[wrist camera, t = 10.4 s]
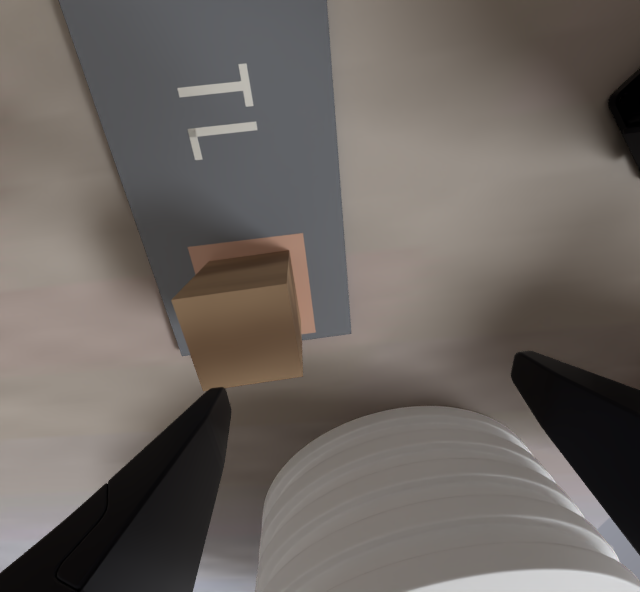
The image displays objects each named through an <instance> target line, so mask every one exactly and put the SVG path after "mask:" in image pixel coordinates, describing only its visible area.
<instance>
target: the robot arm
mask: <svg viewBox="0 0 640 592" xmlns="http://www.w3.org/2000/svg"><path fill="white" fill-rule="evenodd" d="M620 97H621V98H622V99H621V102H620ZM608 105H609V108H610V110H611V113H612V115H613V117H614V119H615V121H616V123H617V125H618V127H619V129H620V131H621V133H622V135H623V137H624V139H625V141H626V143H627V145H628V147H629V149H630V151H631V153H632V155H633V157H634V159H635V161H636V163H637V165H638V167H639V169H640V69H639V70H638V71H637V72H636V73H635V74H634V75H632V76H631V77H630V78H629V79H628V80H627V81H626V82H625V83H624V84H623V85H622V86H620V87H619V88H618V89H617V90H616V91H615V92H614V93H613V94H612V95H611V97H610V99H609V102H608ZM511 378H512V381H513V383H514V384H515V386H516V387H517V389H518V391H519V392H520V394H521V395H522V397H523V399H524V400H525V402H526V403H527V405H528V407H529V408H530V410H531V411H532V413H533V415H534V416H535V418H536V419H537V421H538V422H539V424H540V425H541V427H542V428H543V429H544V431H545V432H546V434H547V435H548V436H549V438H550V439H551V440H552V441H553V443H554V444H555V445H556V447H557V448H558V449H559V451H560V452H561V453H562V455H563V456H564V457H565V458H566V460H567V461H568V462H569V464H570V465H571V466H572V468H573V469H574V470H575V472H576V473H577V474H578V475H579V477H580V478H581V479H582V481H583V482H584V483H585V485H586V486H587V487H588V489H589V490H590V491H591V492H592V494H593V495H594V496H595V498H596V499H597V500H598V502H599V503H600V504H601V506H602V507H603V508H604V509H605V511H606V512H607V513H608V515H609V516H610V517H611V519H612V520H613V521H614V523H615V524H616V525H617V526H618V528H619V529H620V530H621V532H622V533H623V534H624V536H625V537H626V538H627V540H628V541H629V542H630V543H631V545H632V546H633V547H634V549H635V550H636V551H637V553H638V554H639V555H640V390H638V389H635V388H632V387H630V386H627V385H624V384H621V383H619V382H616V381H613V380H610V379H608V378H605V377H602V376H599V375H597V374H594V373H591V372H588V371H586V370H583V369H580V368H577V367H575V366H572V365H569V364H566V363H564V362H561V361H558V360H555V359H553V358H550V357H547V356H544V355H541V354H539V353H536V352H533V351H523V352H518V353H516V354H515V356H514V361H513V366H512V371H511ZM230 419H231V406H230V403H229V399H228V396H227V392H226V390H225V388H224V387H216V388H210V389H209V390H208V391H207V392H206V393H204V394H203V395H202V396H201V397H200V398H199V399H198V400H197V401H196V402H195V403H193V404H192V405H191V406H190V407H189V408H188V409H187V410H186V411H185V412H184V413H182V414H181V415H180V416H179V417H178V418H177V419H176V420H175V421H174V422H173V423H171V424H170V425H169V426H168V427H167V428H166V429H165V430H164V431H163V432H162V433H161V434H159V435H158V436H157V437H156V438H155V439H154V440H153V441H152V442H151V443H150V444H148V445H147V446H146V447H145V448H144V449H143V450H142V451H141V452H140V453H139V454H137V455H136V456H135V457H134V458H133V459H132V460H131V461H130V462H129V463H128V464H126V465H125V466H124V467H123V468H122V469H121V470H120V471H119V472H118V473H117V474H115V475H114V476H113V477H112V478H111V479H110V480H109V481H108V484H107V483H106V484H104V485H103V486H102V487H101V488H100V489H99V490H98V491H97V492H96V493H94V494H93V495H92V496H91V497H90V498H89V499H88V500H87V501H86V502H84V503H83V504H82V505H81V506H80V507H79V508H78V509H76V510H75V511H74V512H73V513H72V514H71V515H70V516H69V517H67V518H66V519H65V520H64V521H63V522H61V523H60V524H59V525H58V526H57V527H56V528H54V529H53V530H52V531H51V532H50V533H48V534H47V535H46V536H45V537H44V538H42V539H41V540H40V541H39V542H38V543H36V544H35V545H34V546H33V547H31V548H30V549H29V550H28V551H27V552H25V553H24V554H23V555H22V556H20V557H19V558H18V559H17V560H16V561H14V562H13V563H12V564H11V565H9V566H8V567H7V568H6V569H5V570H3V571H2V572H1V573H0V592H193V588H194V584H195V580H196V576H197V572H198V568H199V564H200V560H201V556H202V552H203V548H204V544H205V540H206V536H207V532H208V528H209V524H210V520H211V516H212V512H213V508H214V504H215V500H216V496H217V492H218V488H219V484H220V480H221V476H222V472H223V467H224V462H225V456H226V449H227V441H228V434H229V427H230Z"/></svg>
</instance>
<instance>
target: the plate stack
mask: <svg viewBox="0 0 640 592" xmlns="http://www.w3.org/2000/svg"><path fill="white" fill-rule="evenodd" d="M255 592H640V581H639V580H638V578H637V577H636V576H635V575H634V574H633V573H632V572H631V571H630V570H629V569H628V568H627V567H626V566H624V565H623V564H621V563H620V561H619V559H618V557H617V555H616V553H615V551H614V550H613V549H612V548H611V546H610V545H609V544H608V543H607V542H606V541H605V539H604V538H603V537H602V536H601V534H600V533H599V532H598V531H597V530H596V528H595V527H594V526H593V525H592V524H590V523H589V522H588V521H587V520H586V519H585V518H584V516H583V514H582V513H581V511H580V510H579V508H578V507H577V506H576V505H575V504H574V502H573V501H572V500H571V499H570V498H569V496H568V495H567V494H566V493H565V492H564V491H563V490H562V489H561V488H560V487H559V486H558V485H557V484H556V482H555V480H554V479H553V478H552V476H551V475H550V474H549V473H548V471H547V470H546V469H545V468H544V467H543V466H542V464H541V463H540V462H539V461H538V460H537V459H536V458H535V457H534V456H533V454H532V453H531V452H530V450H529V449H528V448H527V447H526V445H525V444H524V443H523V442H522V441H521V439H520V438H519V437H518V436H517V435H516V434H515V433H514V432H513V431H511V430H510V429H509V428H508V427H506V426H505V425H503V424H501V423H500V422H498V421H496V420H494V419H492V418H490V417H488V416H485V415H483V414H480V413H477V412H473V411H469V410H465V409H460V408H453V407H444V406H413V407H403V408H396V409H391V410H386V411H381V412H377V413H373V414H370V415H366V416H363V417H360V418H357V419H354V420H352V421H349V422H347V423H345V424H342V425H340V426H338V427H336V428H334V429H332V430H330V431H328V432H326V433H324V434H323V435H321V436H319V437H318V438H316V439H315V440H313V441H312V442H310V443H309V444H307V445H306V446H305V447H304V448H302V449H301V450H300V451H299V452H297V453H296V454H295V455H294V456H293V457H292V458H291V459H290V460H289V461H288V462H287V463H286V464H285V465H284V467H283V468H282V469H281V470H280V472H279V473H278V474H277V476H276V477H275V479H274V480H273V482H272V484H271V486H270V488H269V490H268V493H267V495H266V498H265V502H264V507H263V516H262V532H261V538H260V547H259V567H258V571H257V579H256V589H255Z"/></svg>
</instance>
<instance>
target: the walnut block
mask: <svg viewBox="0 0 640 592" xmlns="http://www.w3.org/2000/svg"><path fill="white" fill-rule="evenodd" d="M171 301H172V304H173V307H174V309H175V312H176V315H177V318H178V321H179V324H180V327H181V329H182V332H183V335H184V338H185V341H186V344H187V347H188V349H189V352H190V355H191V358H192V361H193V364H194V366H195V369H196V372H197V375H198V378H199V381H200V384H201V386H202V389H203V391H208V390H209V389H210V388H216V387H224V388H229V387H236V386H242V385H249V384H256V383H263V382H269V381H276V380H283V379H290V378H296V377H303V362H302V336H301V318H300V312H299V306H298V300H297V294H296V288H295V282H294V276H293V270H292V264H291V258H290V252H289V250H287V251H280V252H272V253H265V254H258V255H251V256H243V257H236V258H229V259H222V260H214V261H209V262H208V263H207V264H206V265H205V266H204V267H203V268H202V269H201V270H200V271H199V272H198V273H197V274H196V275H195V276H194V277H193V278H192V279H191V280H190V281H189V282H188V283H187V284H186V285H185V286H184V287H183V288H182V289H181V290H180V291H179V292H178V293H177V295H176V296H175V297H174V298H173V299H172V300H171Z"/></svg>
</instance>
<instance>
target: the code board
mask: <svg viewBox="0 0 640 592" xmlns="http://www.w3.org/2000/svg"><path fill="white" fill-rule="evenodd" d="M59 3H60V6H61V9H62V12H63V15H64V17H65V20H66V23H67V26H68V29H69V32H70V35H71V38H72V41H73V43H74V46H75V49H76V52H77V55H78V58H79V61H80V64H81V66H82V69H83V72H84V75H85V78H86V81H87V84H88V87H89V90H90V92H91V95H92V98H93V101H94V104H95V107H96V110H97V113H98V115H99V118H100V121H101V124H102V127H103V130H104V133H105V136H106V139H107V141H108V144H109V147H110V150H111V153H112V156H113V159H114V162H115V164H116V167H117V170H118V173H119V176H120V179H121V182H122V185H123V188H124V190H125V193H126V196H127V199H128V202H129V205H130V208H131V211H132V214H133V216H134V219H135V222H136V225H137V228H138V231H139V234H140V237H141V239H142V242H143V245H144V248H145V251H146V254H147V257H148V260H149V263H150V265H151V268H152V271H153V274H154V277H155V280H156V283H157V286H158V288H159V291H160V294H161V297H162V300H163V303H164V306H165V309H166V312H167V314H168V317H169V320H170V323H171V326H172V329H173V332H174V335H175V338H176V340H177V343H178V346H179V349H180V352H181V355H182V356H188V355H190V352H189V349H188V347H187V344H186V341H185V338H184V335H183V332H182V329H181V327H180V324H179V321H178V318H177V315H176V312H175V309H174V307H173V304H172V301H171V300H172V299H173V298H174V297H175V296H176V295H177V293H178V292H179V291H180V290H181V289H182V288H183V287H184V286H185V285H186V284H187V283H188V282H189V281H190V280H191V279H192V278H193V277H194V276H195V275H196V274H197V273H198V272H199V271H200V270H201V269H202V268H203V267H204V266H205V265H206V264H207V263H208V262H209V261H214V260H222V259H229V258H236V257H243V256H251V255H258V254H265V253H272V252H280V251H287V250H289V252H290V258H291V264H292V270H293V276H294V282H295V288H296V294H297V300H298V306H299V312H300V318H301V336H302V340H308V339H316V338H323V337H331V336H339V335H346V334H351V322H350V309H349V295H348V282H347V268H346V255H345V241H344V228H343V214H342V200H341V187H340V173H339V160H338V146H337V133H336V119H335V106H334V92H333V79H332V65H331V51H330V38H329V24H328V11H327V0H59Z"/></svg>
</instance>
